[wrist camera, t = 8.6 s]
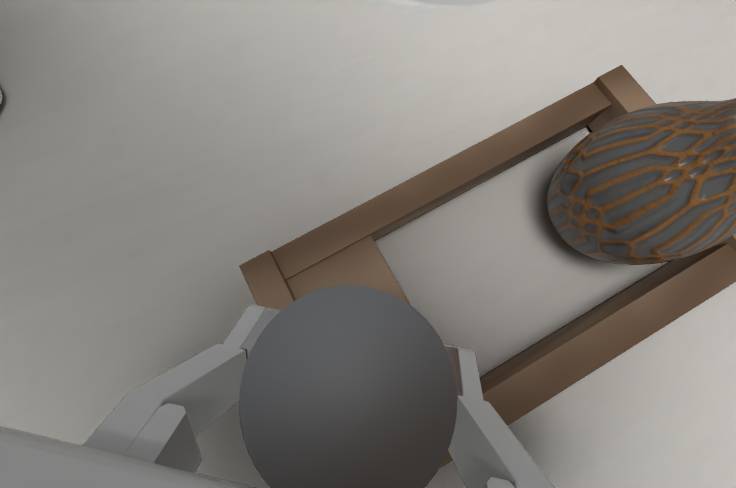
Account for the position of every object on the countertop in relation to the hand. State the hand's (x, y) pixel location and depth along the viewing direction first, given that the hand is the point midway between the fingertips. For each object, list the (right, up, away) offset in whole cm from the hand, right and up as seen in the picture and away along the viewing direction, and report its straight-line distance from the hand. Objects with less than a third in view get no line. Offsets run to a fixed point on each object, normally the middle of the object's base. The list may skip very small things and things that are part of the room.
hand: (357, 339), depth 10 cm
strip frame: (+7, +2, +8) cm, 11 cm away
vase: (+13, +5, +9) cm, 16 cm away
